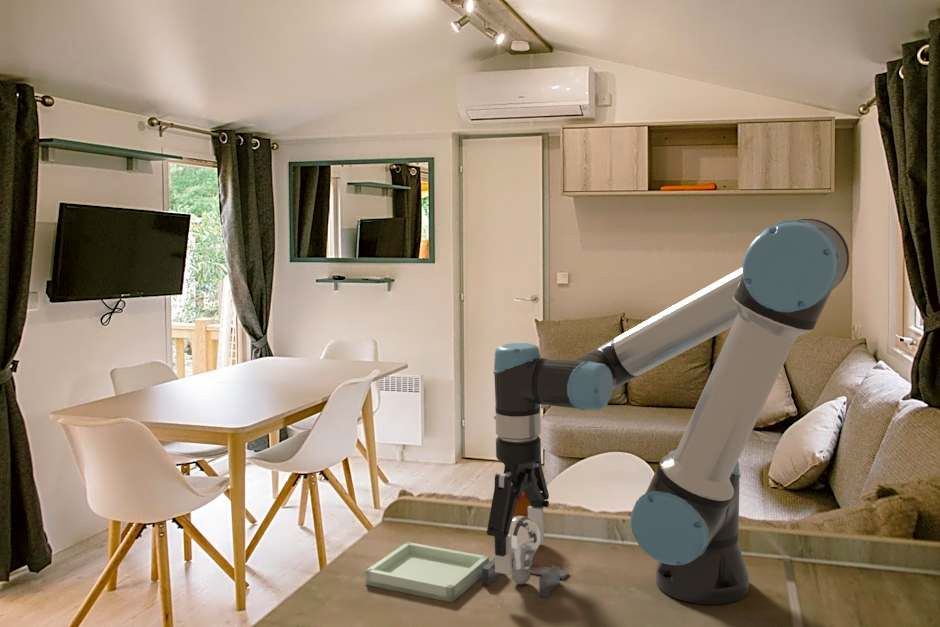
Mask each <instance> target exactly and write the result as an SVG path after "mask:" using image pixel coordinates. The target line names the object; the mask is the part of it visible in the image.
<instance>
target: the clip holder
mask: <svg viewBox="0 0 940 627" xmlns="http://www.w3.org/2000/svg"><path fill="white" fill-rule="evenodd" d="M560 568H561V567H560V566H558V565H552V566H551V567H547V566H543V565H537V564H533V563H532V564H531V566H530V569H531V570H530V572H531V574H532V575H535V576H541V577H540V578H539V579H538V580H539V586H538V587H539V597H542V598H548V597H549V595H550V594H551V593H552V592H553V591H554V590H555V589H556V588H557V587H558V586H559V585H560V583H561V581H560V580H565V579H566V578H567V577H568V576H569V575H570V574H569V572H570V571H569V570H566V569H565V570H564V569H560ZM531 574H530V575H531ZM502 575H504V574H503V573H497V572H495V557H494V558H492V559H491V560H489V563H488V564H486V565H485V566H484V567H483V568H482V577H481V578H482V579H481V580H482V586H484V587H485V586H486V587H489V586H490V585H492V584H493V583H494V582H495V581H497V579H499V577H500V576H502Z"/></svg>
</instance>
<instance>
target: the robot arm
mask: <svg viewBox="0 0 940 627" xmlns="http://www.w3.org/2000/svg"><path fill="white" fill-rule="evenodd" d="M850 257H851V256H850V248H849V245H848V243H847V240H846V239H845V237H844V235H843V234H842V233H841V232H840V231H839V230H838V229H837V228H836V227H835V226H833V225H832V224H830V223H828V222H826V221H824V220H820V219H816V218H815V219H814V218H802V219H796V220H795V219H793V220H785V221H781V222H777V223H775V224H773V225H771V226H769V227H767V228H765V229H764V230H763V231H762V232H761V233H759V234H758V235H757V236H756V237H755V238H754V239H753V240H752V242H751V243H750V245H749V246H748V248H747V250H746V253H745V254H744V257H743V263H742V266H741V267H738V268H737V269H735V270H734V271H731V272H730V273H728V274H727V275H725V276H723V277H721V278H719V279H717V280H716V281H713V282H711V283H710V284H709V285H707V286H704V287H703V288H701V289H700V290H698V291H696V292H694V293H692V294H691V295H689V296H687V297H685V298H683V299H682V300H680V301H679V302H677V303H675V304H673V305H671V306H669V307H668V308H666V309H664V310H662V311H660V312H659V313H657V314H655V315H653V316H651V317H650V318H648V319H646V320H645V321H642V322H641V323H639V324H637V325H636V326H634V327H632V328H630V329H629V330H627V331H625V332H623V333H621V334H619V335H617V337H615V338H613V339H610V340H609V341H607V342H605V343H602V344H601V345H600V346H598V347H596V348H594V349H593V350H590V351H588V352H586V353H583V354H581V355H579V356H577V357H575V358H572V359H568V360H566V359H565V360H564V359H562V360H561V359H549V358H543V357H541V353H540V348H539V346H537V345H536V344H532V343H529V342H528V343H526V342H518V343H517V342H513V343H512V342H511V343H506V344H502V345H500V346H498V347H497V348H496V349H495V351H494V367H493V373H492V374H493V375H494V397H495V414H494V415H493V419H494V420H495V434H496V435H497V437H496V438H495V457H496V459H497V460H498V461H499V462H501V463H502V464H503V465H504V469H503V473H495V475H494V490H493V495H492V499H491V508H490V512H489V518H488V523H487V528H486V529H487V530H486V535H487V536H492V537H493V541H494V542H493V543H494V545H493V546H494V548H493V549H494V558H495V572H497V573H503V574H502V575H510V576H511V575H512V574H511V573H512V554H511V535H508V533H509V530H510V526H511V522H512V519H513V515H514V511H515V507H516V504H517V500H518V499H520V498H521V496H522V492H523V491H524V493H525V495H526V497H527V499H528V501H529V503H530V505H532V506H529V507H528V518H530V519H531V520H533V521H534V522H535V523H536V525H537V526H538V528H539V531H540V536H541V539H540V545H539V546H543V545H544V544H545V539H544V538H545V531H544V530H545V526H544V525H545V524H544V523H545V522H544V521H545V520H544V508H548V507H549V506H550V501H549V498H550V496H549V495H550V494H549V490H548V487H547V482H546V479H545V475H544V470H543V467H542V446H541V445H542V444H541V443H542V440H541V437H540V435H541V433H542V428H541V427H542V424H541V421H542V418H541V405H543V406H551V407H559V408H570V409H575V410H581V411H587V410H593V411H595V410H596V411H600V410H603V409H604V408H606V407H607V406H608V404H609V401H611V398H612V395H613V390H615V389H616V388H619V387H621V386H622V385H624V384H626V383H627V382H629V381H631V380H634V379H635V378H636V377H639V376H641V375H642V374H644V373H646V372H648V371H649V370H652V369H654V368H656V367H658V366H659V365H661V364H663V363H665V362H667V361H670V360H671V359H672V358H675V357H677V356H679V355H681V354H682V353H684V352H686V351H688V350H690V349H692V348H694V347H696V346H698V345H700V344H702V343H703V342H705V341H707V340H710V339H711V338H713V337H716V336H717V335H719V334H721V333H723V332H725V331H727V330H729V329H730V330H729V333H727V337H726V339H725V340H724V342H723V345H722V348H721V350H720V352H719V354H718V357H717V359H716V360H715V364H714V365H713V368H712V370H711V372H710V375H709V377H708V378H707V381H706V383H705V386H704V387H703V390H702V392H701V394H700V396H699V399H698V401H697V403H696V405H695V408H694V410H693V412H692V414H691V417H690V419H689V421H688V423H687V426H686V428H685V430H684V432H683V434H682V437H681V439H680V442H679V443H678V446H677V448H676V449H673V450H671V451H669V452H668V454H667V455H665V456H662V458H661V459H660V461H659V462H658V466H657V467H656V470H655V472H654V475H653V476H652V479H651V480H650V483H649V485H648V488H647V489H646V491H645V492H644V494H642V495H641V496H639V497H638V499H637V500H636V501H635V504H634V506H633V508H632V511H631V514H630V528H631V532H632V535H633V536H634V538H635V542H637V545H638V546H639V547H640V548H641V550H643V552H645V553H646V555H648V556H649V557H650V558H652V559H654V560H655V561H658V563H657V565H656V570H655V572H656V573H655V578H656V579H655V580H656V581H655V582H656V586H657V587H658V589H659V590H660V591H662V592H663V593H664V594H665V595H666V596H667V595H668V596H669V597H671V598H673V599H677V600H680V601H683V602H687V603H692V604H698V605H723V604H731V603H734V602H737V601H739V600H742V599H743V598H745V597H746V596H747V595H748V594H749V590H750V576H749V575H750V574H749V571H748V568H747V565H746V562H745V560H744V559H745V558H744V557H743V553H742V551H741V550H742V549H741V548H740V547H741V546H740V543H739V542H740V541H739V534H740V533H739V530H740V528H739V527H740V526H739V525H740V479H741V476H742V475H741V472H740V463H739V460H740V457H741V455H742V453H743V451H744V449H745V446H746V444H747V442H748V440H749V437H750V436H751V434H752V431H753V430H754V427H755V426H756V423H757V422H758V419H759V417H760V415H761V413H762V411H763V408H764V406H765V404H766V402H767V400H768V398H769V396H770V394H771V392H772V389H773V387H774V386H775V383H776V381H777V379H778V377H779V375H780V374H781V371H782V369H783V367H784V364H785V362H786V360H787V358H788V356H789V354H790V352H791V349H792V348H793V345H794V343H795V341H796V339H797V338H798V337H799V336H802V335H805V334H808V333H811V332H812V331H813V330H814V328H815V326H816V324H817V322H818V320H819V318H820V316H821V314H822V312H823V310H824V309H825V306H826V303H827V302H828V299H829V297H830V296H831V293H832V291H833V290H834V289H835V288H837V287H838V286H839V284H841V283H842V282H843V280H844V278H845V276H846V274H847V272H848V270H849V266H850V260H851V258H850ZM542 507H543V508H542Z"/></svg>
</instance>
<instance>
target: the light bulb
mask: <svg viewBox="0 0 940 627" xmlns="http://www.w3.org/2000/svg"><path fill="white" fill-rule="evenodd" d="M508 535H511V554H512V573H511V574H510V577H511V579H512V581H514V582H515V583H516V584H517V585H518V586H524V585H525V584H527V583H528V581H529V580H530V579H531V577H532V576H531V572H530V570H531V569H530V566H531V564H533V558H534V556H535V554H536V552H537V551H538V549H539V547H540V546H541V545H540V539H541V536H540V531H539V528H538V526H537V525H536V523H535V522H534V521H533V520H531V519H530V518H528V517H525V516H514V517H513V519H512V522H511V526H510V530H509V533H508Z"/></svg>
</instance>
